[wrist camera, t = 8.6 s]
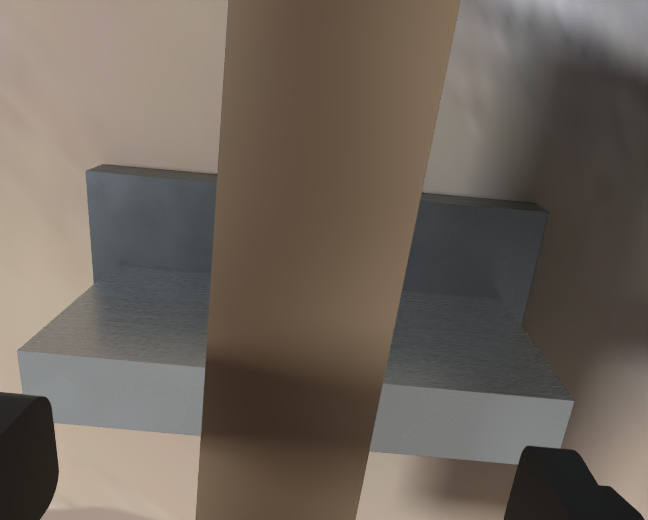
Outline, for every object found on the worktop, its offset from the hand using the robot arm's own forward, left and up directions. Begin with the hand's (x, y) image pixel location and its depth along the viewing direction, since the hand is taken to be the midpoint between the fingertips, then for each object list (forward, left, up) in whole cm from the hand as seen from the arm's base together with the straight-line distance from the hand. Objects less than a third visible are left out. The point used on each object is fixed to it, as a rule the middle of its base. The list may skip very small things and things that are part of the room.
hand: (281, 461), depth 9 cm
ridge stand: (0, +3, -14) cm, 15 cm away
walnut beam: (0, +3, -6) cm, 6 cm away
